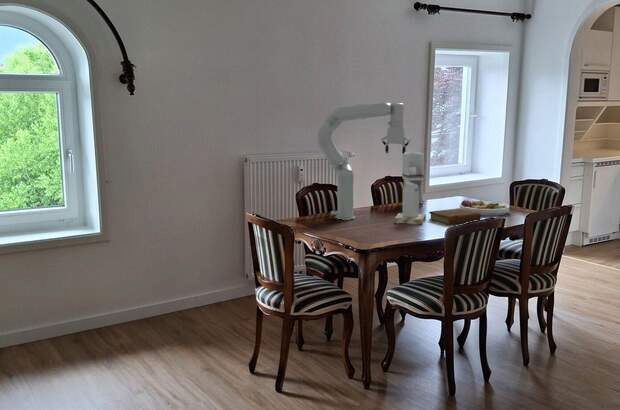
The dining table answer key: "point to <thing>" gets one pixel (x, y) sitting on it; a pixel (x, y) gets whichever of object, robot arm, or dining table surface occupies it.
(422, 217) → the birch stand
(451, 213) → the diary
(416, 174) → the display case
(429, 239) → the dining table surface
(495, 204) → the bowl
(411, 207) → the milk carton
